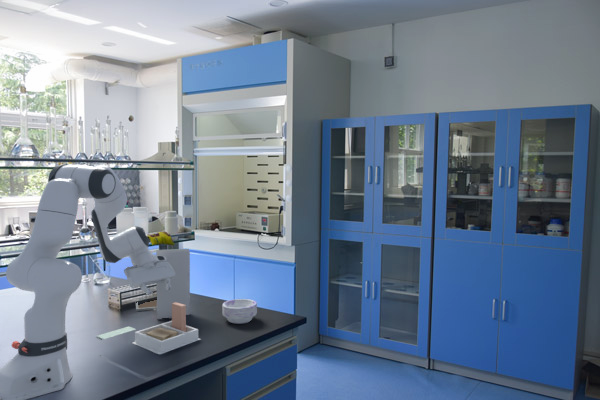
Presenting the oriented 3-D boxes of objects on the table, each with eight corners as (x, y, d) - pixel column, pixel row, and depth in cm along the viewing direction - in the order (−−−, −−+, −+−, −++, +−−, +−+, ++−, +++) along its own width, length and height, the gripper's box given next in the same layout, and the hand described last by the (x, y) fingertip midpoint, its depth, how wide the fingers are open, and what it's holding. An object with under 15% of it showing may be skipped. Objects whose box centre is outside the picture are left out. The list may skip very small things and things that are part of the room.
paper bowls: (226, 314, 210) (226, 297, 210) (259, 315, 209) (259, 298, 208) (218, 325, 195) (218, 307, 194) (253, 327, 194) (253, 309, 193)
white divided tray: (159, 357, 162) (159, 343, 162) (132, 345, 172) (131, 332, 172) (201, 341, 177) (201, 328, 177) (173, 331, 187) (173, 319, 187)
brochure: (188, 312, 211) (188, 248, 209) (189, 316, 206) (189, 250, 204) (156, 315, 207) (156, 250, 205) (156, 319, 202) (156, 252, 199)
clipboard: (173, 290, 245) (179, 307, 217) (173, 293, 245) (179, 310, 217) (135, 293, 238) (136, 310, 210) (135, 296, 238) (136, 314, 210)
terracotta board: (181, 339, 176) (181, 306, 175) (171, 335, 180) (171, 303, 179) (185, 337, 178) (185, 305, 177) (176, 334, 181) (176, 302, 181)
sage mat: (116, 345, 171) (116, 344, 171) (96, 337, 180) (96, 335, 180) (148, 335, 182) (148, 334, 182) (128, 327, 191) (128, 326, 191)
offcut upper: (163, 343, 167) (163, 337, 167) (145, 338, 171) (145, 333, 171) (177, 337, 173) (177, 331, 173) (159, 332, 178) (159, 327, 177)
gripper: (125, 263, 180) (140, 292, 175) (168, 255, 197) (183, 282, 191) (119, 272, 183) (133, 301, 178) (162, 264, 200) (176, 290, 194)
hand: (159, 291), depth 185 cm, fingers open, 8 cm apart
